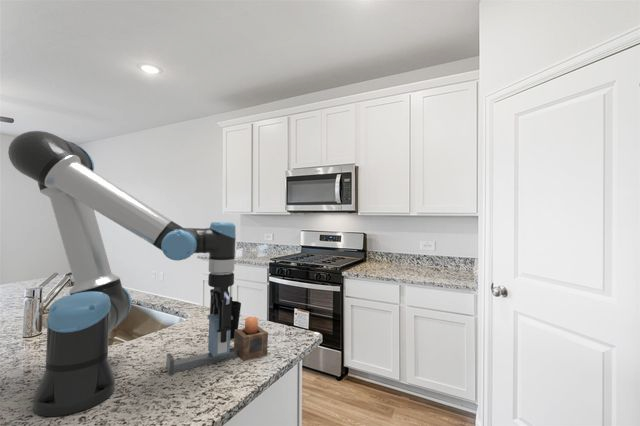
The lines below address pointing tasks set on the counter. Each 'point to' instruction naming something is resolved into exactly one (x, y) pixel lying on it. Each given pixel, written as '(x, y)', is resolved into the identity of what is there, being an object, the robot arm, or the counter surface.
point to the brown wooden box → (251, 343)
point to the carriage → (216, 335)
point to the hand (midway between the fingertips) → (218, 348)
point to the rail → (197, 360)
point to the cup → (234, 317)
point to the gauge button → (251, 325)
